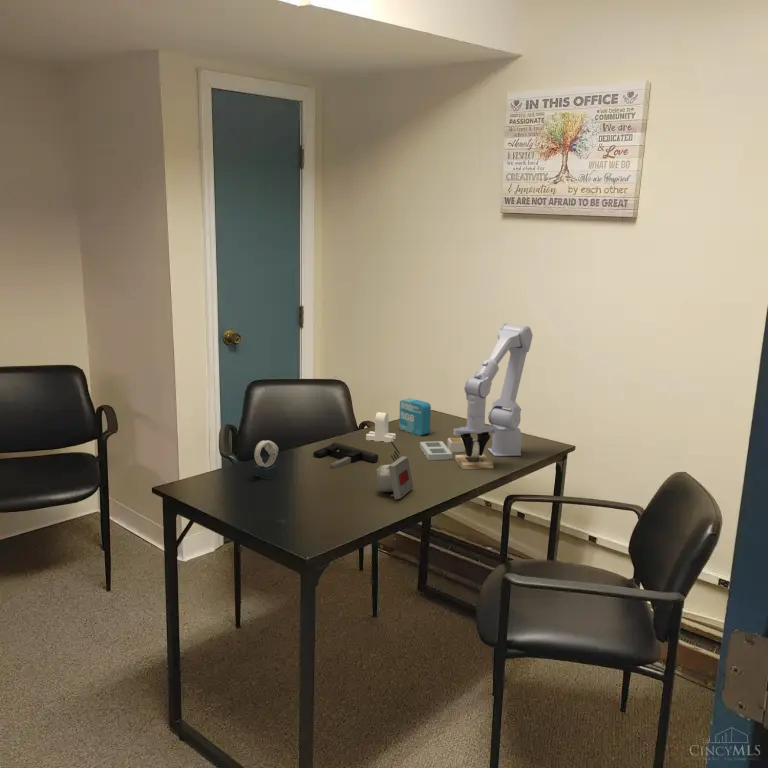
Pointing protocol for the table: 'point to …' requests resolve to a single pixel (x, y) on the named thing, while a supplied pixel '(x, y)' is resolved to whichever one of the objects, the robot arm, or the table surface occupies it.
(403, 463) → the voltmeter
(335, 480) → the table surface
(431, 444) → the frame
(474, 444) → the grey rounded cylinder
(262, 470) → the grey ring on stand
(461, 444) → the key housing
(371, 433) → the cable organizer
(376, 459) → the submachine gun
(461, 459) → the wooden square frame
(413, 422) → the data package
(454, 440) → the key
